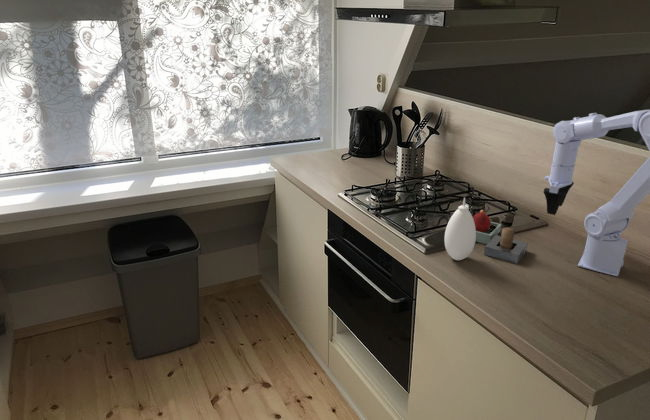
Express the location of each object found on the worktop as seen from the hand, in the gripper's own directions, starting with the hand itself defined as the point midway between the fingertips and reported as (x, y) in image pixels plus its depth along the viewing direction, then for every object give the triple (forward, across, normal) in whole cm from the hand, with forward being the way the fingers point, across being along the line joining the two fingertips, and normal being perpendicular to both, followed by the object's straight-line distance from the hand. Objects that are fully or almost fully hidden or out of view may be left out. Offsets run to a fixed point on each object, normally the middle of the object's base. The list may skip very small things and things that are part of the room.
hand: (554, 209), depth 145 cm
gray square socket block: (+10, +15, -8) cm, 20 cm away
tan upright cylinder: (+10, +15, -8) cm, 20 cm away
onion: (+10, +8, -18) cm, 22 cm away
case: (+10, +8, -18) cm, 22 cm away
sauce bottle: (+10, +26, -18) cm, 33 cm away
